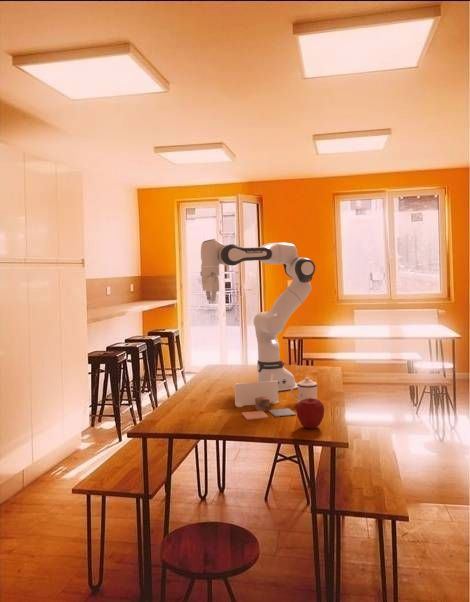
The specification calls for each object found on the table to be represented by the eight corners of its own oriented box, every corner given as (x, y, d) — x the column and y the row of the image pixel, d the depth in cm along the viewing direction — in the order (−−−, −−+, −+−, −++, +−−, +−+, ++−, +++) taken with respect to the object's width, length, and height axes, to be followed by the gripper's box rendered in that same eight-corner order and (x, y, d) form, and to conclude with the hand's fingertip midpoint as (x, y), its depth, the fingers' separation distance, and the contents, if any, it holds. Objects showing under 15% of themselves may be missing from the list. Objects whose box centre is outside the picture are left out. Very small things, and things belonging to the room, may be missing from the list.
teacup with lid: (317, 400, 238) (317, 375, 237) (317, 405, 229) (317, 380, 228) (291, 400, 240) (291, 375, 239) (290, 405, 231) (290, 379, 230)
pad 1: (262, 412, 221) (262, 410, 221) (268, 417, 212) (268, 416, 212) (241, 413, 219) (241, 412, 219) (247, 419, 210) (247, 418, 210)
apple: (299, 422, 205) (298, 393, 204) (326, 424, 202) (325, 394, 201) (294, 431, 195) (293, 400, 194) (322, 433, 192) (322, 402, 191)
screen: (276, 400, 239) (275, 379, 239) (279, 403, 234) (279, 381, 234) (234, 404, 235) (233, 382, 234) (236, 407, 230) (236, 385, 229)
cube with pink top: (266, 407, 229) (266, 396, 229) (269, 410, 224) (269, 399, 224) (255, 408, 228) (255, 397, 227) (258, 411, 223) (258, 400, 223)
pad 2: (288, 409, 224) (288, 408, 224) (295, 415, 215) (295, 413, 215) (268, 411, 222) (268, 410, 222) (275, 417, 213) (275, 415, 213)
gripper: (222, 272, 245) (222, 301, 245) (211, 272, 264) (212, 299, 265) (209, 272, 243) (210, 301, 244) (199, 272, 262) (200, 299, 263)
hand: (211, 300), depth 255 cm, fingers open, 8 cm apart
